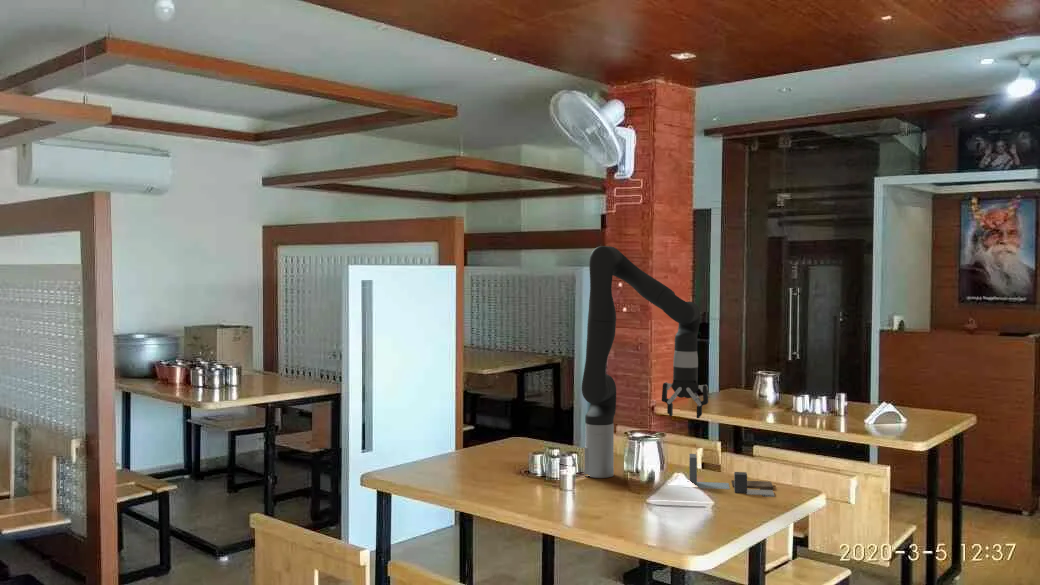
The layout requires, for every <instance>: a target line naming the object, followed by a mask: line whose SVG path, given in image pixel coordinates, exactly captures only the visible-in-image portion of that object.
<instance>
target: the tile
mask: <svg viewBox="0 0 1040 585" xmlns="http://www.w3.org/2000/svg"><path fill="white" fill-rule="evenodd" d="M688 455H689V459H688V460H689V476H688V477H689V478H688V479H689V480H690V481H691V482H692V483H694V484H695V485H697V482H698V478H697V476H698V472H697V470H698V469H697V468H698V467H697V466H698V457H697V453H689V454H688Z"/></svg>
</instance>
